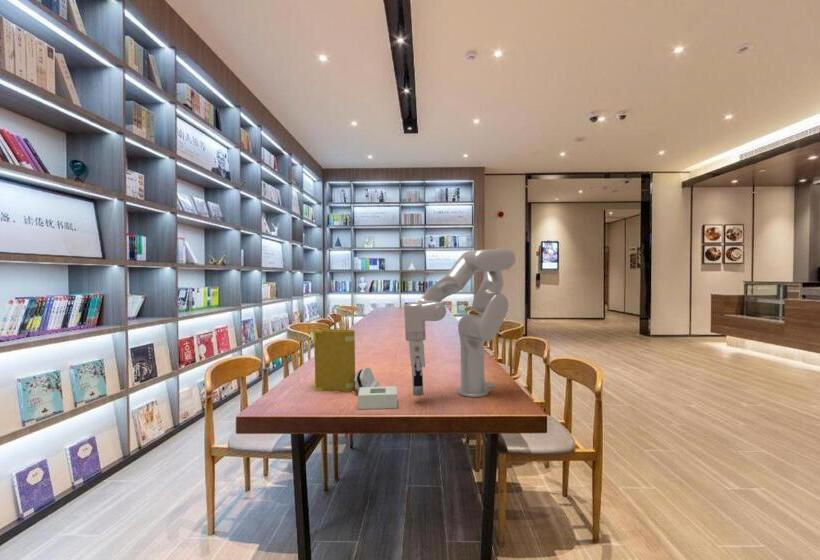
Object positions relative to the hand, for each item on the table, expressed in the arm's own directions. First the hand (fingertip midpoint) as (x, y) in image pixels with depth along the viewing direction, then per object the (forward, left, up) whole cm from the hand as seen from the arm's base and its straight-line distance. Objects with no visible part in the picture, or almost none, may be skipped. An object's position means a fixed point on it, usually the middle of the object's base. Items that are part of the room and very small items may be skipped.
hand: (417, 383), depth 142 cm
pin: (0, 0, -4) cm, 4 cm away
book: (+33, -20, -7) cm, 39 cm away
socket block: (+15, 0, -7) cm, 17 cm away
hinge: (+20, -17, -7) cm, 28 cm away
